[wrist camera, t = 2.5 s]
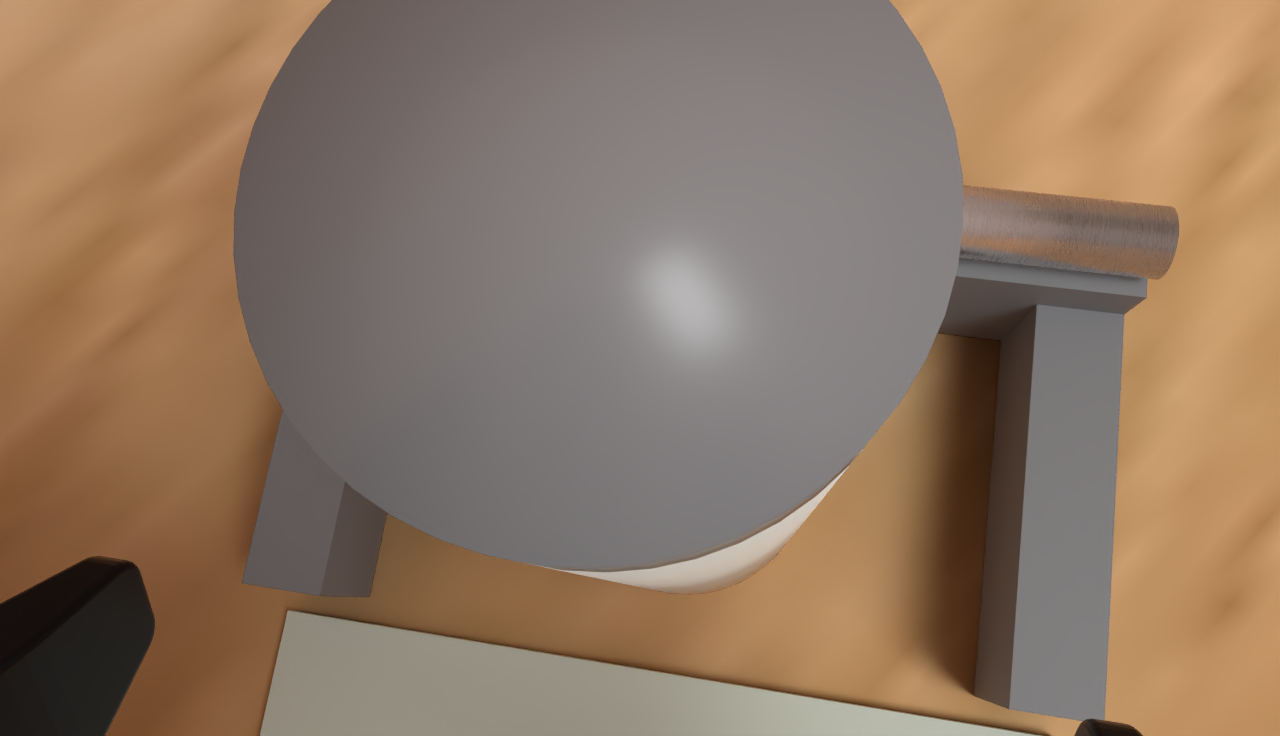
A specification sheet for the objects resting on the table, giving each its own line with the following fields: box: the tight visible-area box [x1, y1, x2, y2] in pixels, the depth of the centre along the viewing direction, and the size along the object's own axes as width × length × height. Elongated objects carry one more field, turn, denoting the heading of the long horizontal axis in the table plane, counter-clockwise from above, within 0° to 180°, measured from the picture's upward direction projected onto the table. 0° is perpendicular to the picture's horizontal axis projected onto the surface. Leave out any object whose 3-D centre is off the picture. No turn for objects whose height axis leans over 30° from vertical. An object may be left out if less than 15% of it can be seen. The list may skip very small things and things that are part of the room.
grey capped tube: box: [234, 0, 963, 595], centre depth 14 cm, size 5×5×14 cm
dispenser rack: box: [242, 185, 1179, 721], centre depth 18 cm, size 8×15×5 cm, turn 81°
